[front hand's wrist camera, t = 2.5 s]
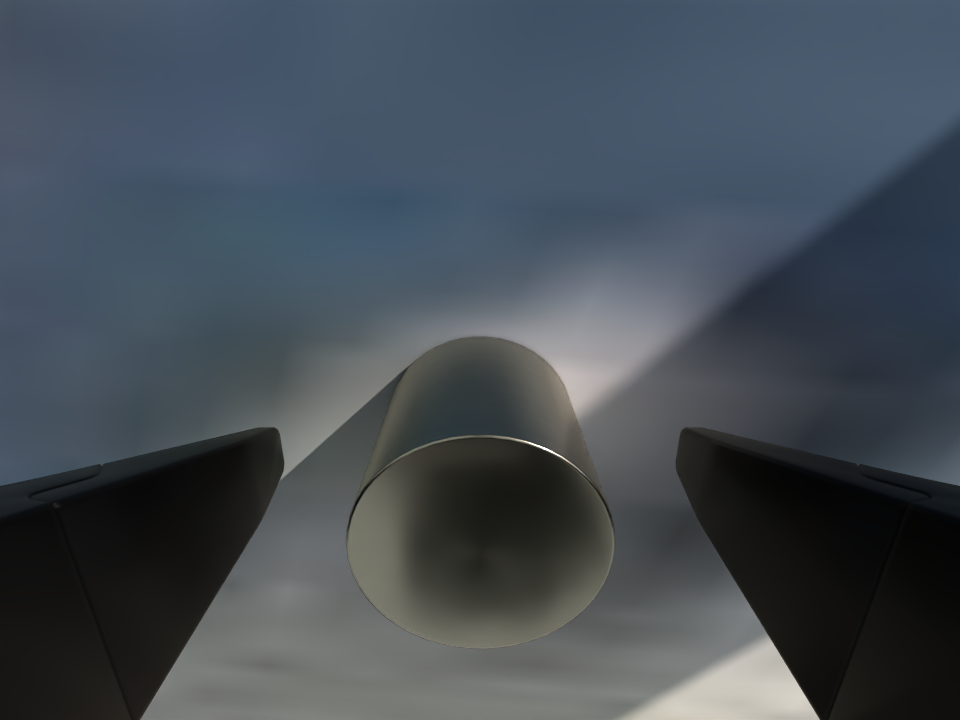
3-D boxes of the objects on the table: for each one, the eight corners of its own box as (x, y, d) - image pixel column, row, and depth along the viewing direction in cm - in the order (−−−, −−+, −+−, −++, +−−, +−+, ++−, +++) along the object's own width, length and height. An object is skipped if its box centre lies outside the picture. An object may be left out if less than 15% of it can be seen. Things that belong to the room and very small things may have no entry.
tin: (369, 470, 13) (319, 615, 9) (418, 310, 12) (385, 399, 7) (533, 515, 14) (555, 672, 10) (600, 369, 12) (662, 482, 8)
